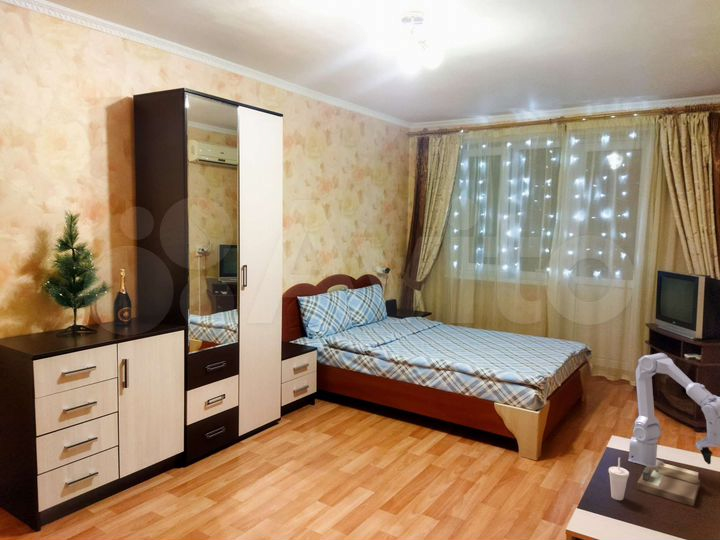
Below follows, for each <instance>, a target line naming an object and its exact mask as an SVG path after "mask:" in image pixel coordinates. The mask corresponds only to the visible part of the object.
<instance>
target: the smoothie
mask: <svg viewBox="0 0 720 540" xmlns="http://www.w3.org/2000/svg"><path fill="white" fill-rule="evenodd" d="M617 461H618V462H617V466H609V468H608V473H609V481H610V483H609V484H610V496H611V498H612V499H614V500H616V501H622V500H624V497H625V494H626V493H625V492H626V488H627V484H628V482H627V481H628V478H629V476H630V471H628V470H627V469H625V468H623V467H621V457H618V458H617Z"/></svg>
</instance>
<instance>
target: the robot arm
mask: <svg viewBox="0 0 720 540" xmlns="http://www.w3.org/2000/svg"><path fill="white" fill-rule="evenodd" d="M637 362H638V365H637V367H636V369H635V382H636V383H635V384H636V394H637V395H636V396H637V397H636V398H637V408H638V409H637V410H638V417H637V418H636V419H635V421H634V428H633V430H632V433H633V436H631V438H630V441H629V447H628V448H629V451H628V452H629V453H628V462H630V463H634V464H638V465H642V466H645V467H647V465H648V466H652V467H655V468H656V460H658V459H657V455H658V454H657V452H658V441H659V438H660V437H661V436H662V435H663V430H662V427H661V425H660V420H659V419H658V418H657V417H656V416H655V405H654V395H653V394H654V393H653V392H654V391H653V379H652V377H653V376H654V375H656V374H665V375H668V376H669V377H671V378H672V379H673V380H674V381H675V382H676V383H678V384H679V385H681V386H682V387H683V388H684V389H685V391H686V394H687V395H688V397H690V398H691V399H692V400H693V401H694V402H695V403H696V404H697V405H698V406H700V407H701V411H702V412H703V415H704V418H705V421H706V436H705V437H703V438H702V439H701V440H699V441H698V442H695V449H697V450H698V451H699V452H700V453H701V455H702V457H703V460H704V462H705V463H706V464H707V465H710V464H711V462H712V459H711V458H712V455H713V451H711V449H710V448H719V447H720V396H717V395H715V394H712V393H711V392H710V391H709V390H708V389H706V388H705V387H706V386H705V385H704V384H701V383H699V382H693V381H692V380H691V379H690V378H689V377H688V376H687V375H686V374H685V373H684V372H683V371H682V370H681V369H680V368H679V367H678V366H676V364H675V363H674V361H673V359H672V358H670V357H668V355H667V354H666V353H663V352H658V353H654V354H647V355H643V356H641V357H640V358H639V359H638V361H637Z"/></svg>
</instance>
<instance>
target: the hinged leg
mask: <svg viewBox="0 0 720 540" xmlns="http://www.w3.org/2000/svg"><path fill="white" fill-rule="evenodd" d="M655 468H656V470H655V471H656V472H658V473H660V474H664V475H667V476H671V477H675V478H678V479H682V480H685V481H689V482H692V483H696V484H697V482H698V479H699V472H697V471H695V470H691V469H687V468H683V467H678V466H675V465H673V464H672V465H671V464H667V463H664V461H663V460H661V459H660V460H659V459H657V460H656V467H655Z"/></svg>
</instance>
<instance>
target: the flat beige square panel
mask: <svg viewBox="0 0 720 540" xmlns="http://www.w3.org/2000/svg"><path fill="white" fill-rule="evenodd" d="M655 470H656V467H652V466H648V465H647V466H645V468H644V469H643V471H642V473H641V475H640V477H639V479H638V480H637V483H636V490H637V491H638V490H639V491H642V492H646V493H647V494H651V495H655V496H657V497H661V498H664V499H668V500H671V501H674V502H678V503H681V504H684V505H688V506H690V507H694V504H695V501H696V499H697V495H698V492H699V489H700V485H701V479H699V478H698V482H697V484H696V483H692V482H689V481H685V480H682V479H678V478H675V477H671V476H667V475H664V474H660V473H658V472H656V471H655Z"/></svg>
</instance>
